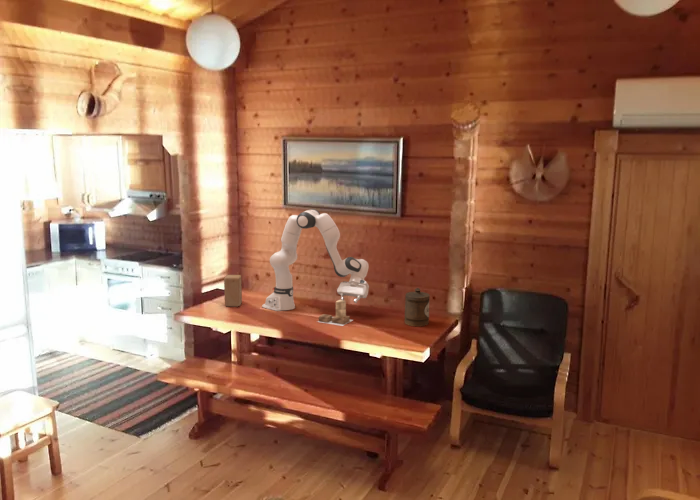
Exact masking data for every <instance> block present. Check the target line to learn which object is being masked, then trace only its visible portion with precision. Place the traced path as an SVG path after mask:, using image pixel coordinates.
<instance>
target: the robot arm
mask: <svg viewBox="0 0 700 500" xmlns="http://www.w3.org/2000/svg"><path fill="white" fill-rule="evenodd" d="M315 227H316V228H317V229H318V230H319V232H320V234H321V236H322V238H323V241H324V245H325V249H326V251H327V254H328V256H329V257H330V260H331V263H332V265H333V269H334V273H335V274H336V276H338V277H340V278H345V277H347V276H349V275H350V278H349V281H344V280H343V281H341V282H340V284H339V285H338V287H337V289H336V292H337V294H338V295H340V300H345V298H344V297H345V296H347V297H355V298H354V300H353V303H355V304H358V301H359V300H360V299H366V298H367V297H368V294H369V288H370V285H369V283H368V282H367V281H366V280H365V278H366V277H367V275H368V271H369V269H370V268H369V262H368V261H367V260H365V259H363V258H359V259H358V258H355V257H353V256H348V257H346V258H345V259H342V257H341V255H340V253H339V250H338V249H337V248H338V247H337V246H338V245H337V244H338V242H339V240H340V238H341V232H340V229H339V228H338V226H337V224H336V222H335V221H334V219H333V218H332V217H331V215H330V214H328V213H326V212H323V213H320V211H318V210H317V209H314V208H312V209H307V210H305V211H303V212H300V213H299V214H291V215H290V216H289V217H288V218H287V221H286V223H285V225H284V229H283V231H282V235H281V239H280V242H281V249H280V250H278V251H276V252H274V253H273V254H272V255H271V256H270V257H269V265H270V266H271V268H272V269H273V271H274V275H275V286H274V287H273V288H272V291H273V292H272V293H270V295H268V296H267V297H266V298H265V303H263V304H262V305H261V308H265V309H267V310H270V311H271V310H272V311H274V312H280V311H290V310H294V309H296V305H295V301H294V287H293V284H294V283H293V274H292V273H291V270H290V268H289V267H290V266H291V265H293V264H294V263H296V261H297V259H298V253H297V248H298V243H299V240H300V237H301V234H302V230H303V229H305V230H306V229H311V228H315Z"/></svg>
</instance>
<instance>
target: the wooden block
mask: <svg viewBox="0 0 700 500" xmlns="http://www.w3.org/2000/svg"><path fill="white" fill-rule="evenodd" d="M223 286H224V287H223V289H224V291H223V292H224V306H225V307H230V308H231V307H238V306H239V307H240V306H241V305H242V303H243V292H242V291H243V290H242V287H243V286H242V274H227V275H226V276H225V277H224V278H223Z"/></svg>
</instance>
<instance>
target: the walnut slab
mask: <svg viewBox="0 0 700 500" xmlns="http://www.w3.org/2000/svg"><path fill="white" fill-rule="evenodd" d="M350 317H351V316H350V315H346V317H344V318H337V317H336V315H334V316H332V323H338V324H345V323H347V322H349V321H350V320H351V318H350ZM349 323H350V322H349ZM347 324H348V323H347ZM345 325H346V324H345Z"/></svg>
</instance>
